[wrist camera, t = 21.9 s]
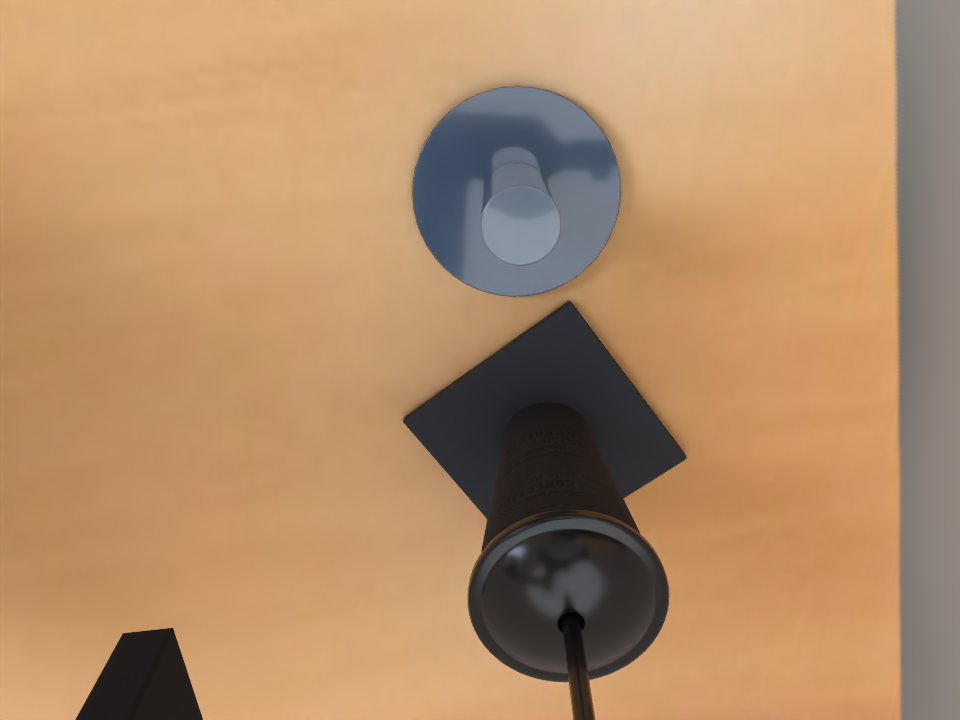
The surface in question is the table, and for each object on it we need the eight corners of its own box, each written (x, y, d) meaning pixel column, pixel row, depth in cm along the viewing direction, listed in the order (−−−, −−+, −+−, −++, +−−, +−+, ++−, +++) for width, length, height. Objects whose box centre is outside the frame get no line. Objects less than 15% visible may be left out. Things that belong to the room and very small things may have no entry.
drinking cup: (531, 349, 41) (562, 589, 22) (646, 427, 42) (766, 715, 24) (447, 456, 43) (412, 756, 24) (559, 527, 45) (606, 862, 26)
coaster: (403, 417, 43) (402, 421, 43) (569, 300, 41) (570, 303, 40) (523, 555, 46) (523, 561, 46) (685, 454, 44) (687, 459, 43)
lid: (372, 173, 39) (341, 201, 31) (538, 39, 36) (550, 32, 29) (495, 329, 41) (495, 391, 34) (658, 213, 39) (698, 250, 31)
